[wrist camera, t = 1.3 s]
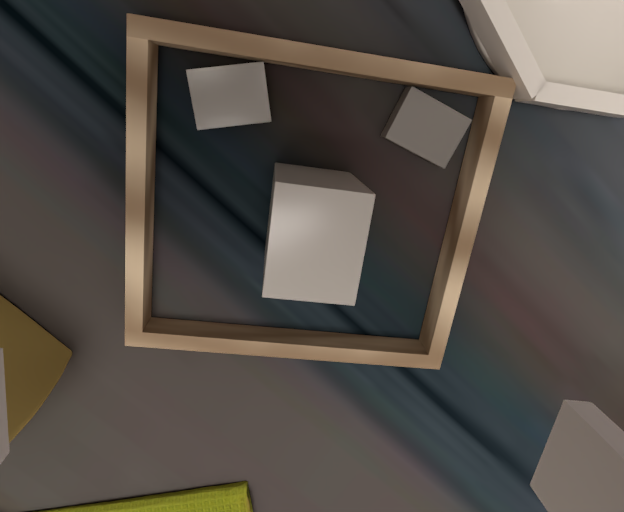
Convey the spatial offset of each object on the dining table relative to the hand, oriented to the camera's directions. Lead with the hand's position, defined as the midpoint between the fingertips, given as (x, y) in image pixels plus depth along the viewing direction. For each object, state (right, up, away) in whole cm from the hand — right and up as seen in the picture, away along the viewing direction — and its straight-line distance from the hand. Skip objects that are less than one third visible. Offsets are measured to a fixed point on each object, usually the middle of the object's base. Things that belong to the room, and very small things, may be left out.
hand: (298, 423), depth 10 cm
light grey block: (-4, +13, +14) cm, 20 cm away
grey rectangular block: (+7, +12, +15) cm, 20 cm away
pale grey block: (0, +7, +16) cm, 17 cm away
